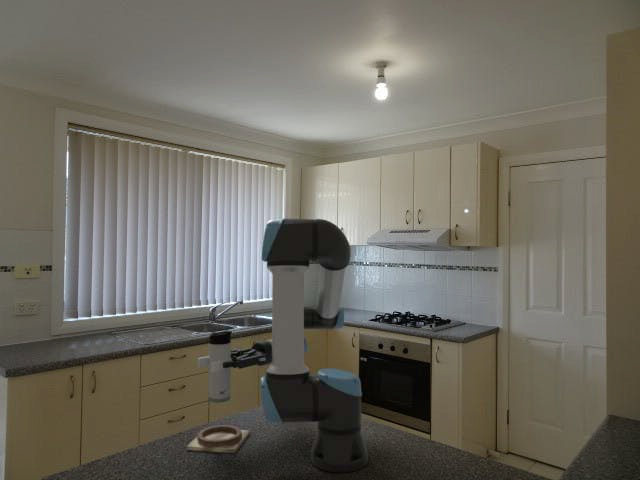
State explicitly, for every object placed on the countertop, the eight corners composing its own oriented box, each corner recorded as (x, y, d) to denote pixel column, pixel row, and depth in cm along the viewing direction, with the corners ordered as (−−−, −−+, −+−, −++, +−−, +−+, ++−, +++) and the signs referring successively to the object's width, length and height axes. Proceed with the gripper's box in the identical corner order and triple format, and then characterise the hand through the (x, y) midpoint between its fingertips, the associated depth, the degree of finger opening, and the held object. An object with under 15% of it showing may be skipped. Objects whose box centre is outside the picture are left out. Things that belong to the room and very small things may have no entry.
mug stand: (249, 433, 144) (249, 425, 144) (234, 453, 130) (234, 443, 130) (206, 431, 146) (206, 423, 146) (186, 449, 132) (186, 440, 132)
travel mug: (227, 403, 135) (227, 333, 135) (205, 402, 136) (205, 332, 136) (234, 396, 141) (234, 329, 141) (213, 395, 142) (214, 329, 142)
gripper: (287, 369, 145) (224, 384, 128) (248, 359, 158) (187, 372, 141) (287, 344, 145) (224, 357, 128) (248, 336, 158) (187, 347, 141)
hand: (205, 364), depth 135 cm, fingers closed on travel mug, 6 cm apart
